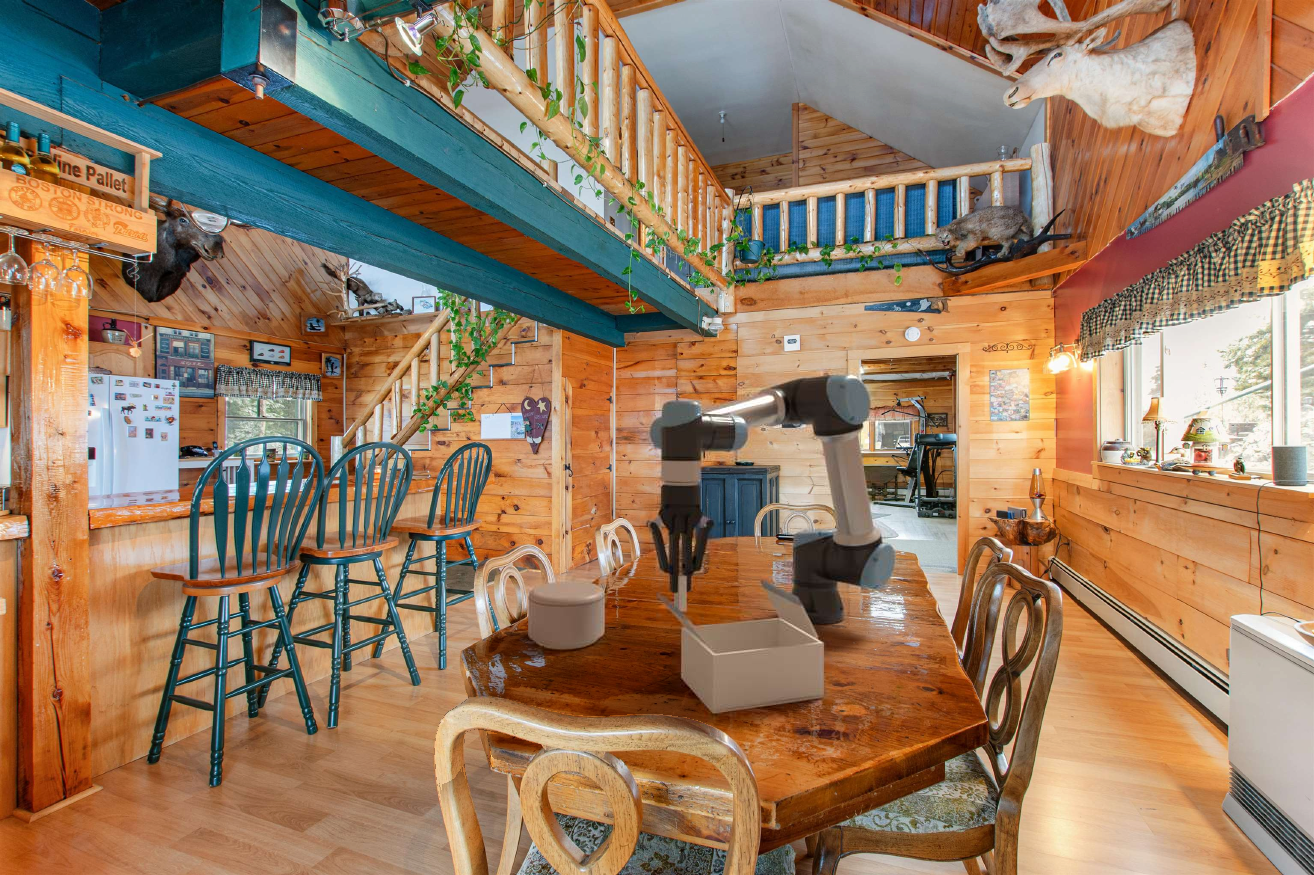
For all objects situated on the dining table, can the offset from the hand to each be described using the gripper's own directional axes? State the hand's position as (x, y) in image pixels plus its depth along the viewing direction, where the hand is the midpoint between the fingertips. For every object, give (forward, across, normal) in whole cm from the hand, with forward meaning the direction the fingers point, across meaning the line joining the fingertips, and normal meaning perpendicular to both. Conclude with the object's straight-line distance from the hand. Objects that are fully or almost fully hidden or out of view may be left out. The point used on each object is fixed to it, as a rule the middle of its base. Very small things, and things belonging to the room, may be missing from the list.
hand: (680, 609), depth 111 cm
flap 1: (+1, 0, +2) cm, 2 cm away
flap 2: (+1, -21, +2) cm, 22 cm away
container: (+16, +16, -36) cm, 42 cm away
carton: (+15, -14, +2) cm, 21 cm away
